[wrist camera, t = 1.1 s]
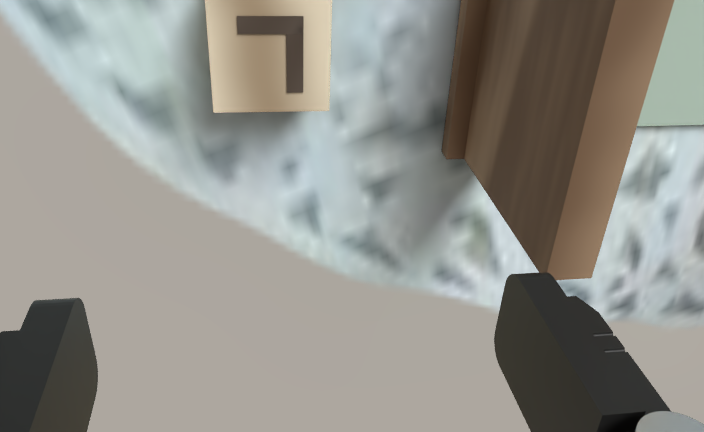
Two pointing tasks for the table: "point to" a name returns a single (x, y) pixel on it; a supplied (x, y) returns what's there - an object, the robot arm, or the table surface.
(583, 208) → the walnut screen
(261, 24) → the letter cube
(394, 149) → the table surface
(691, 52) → the sage pad
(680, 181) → the table surface
